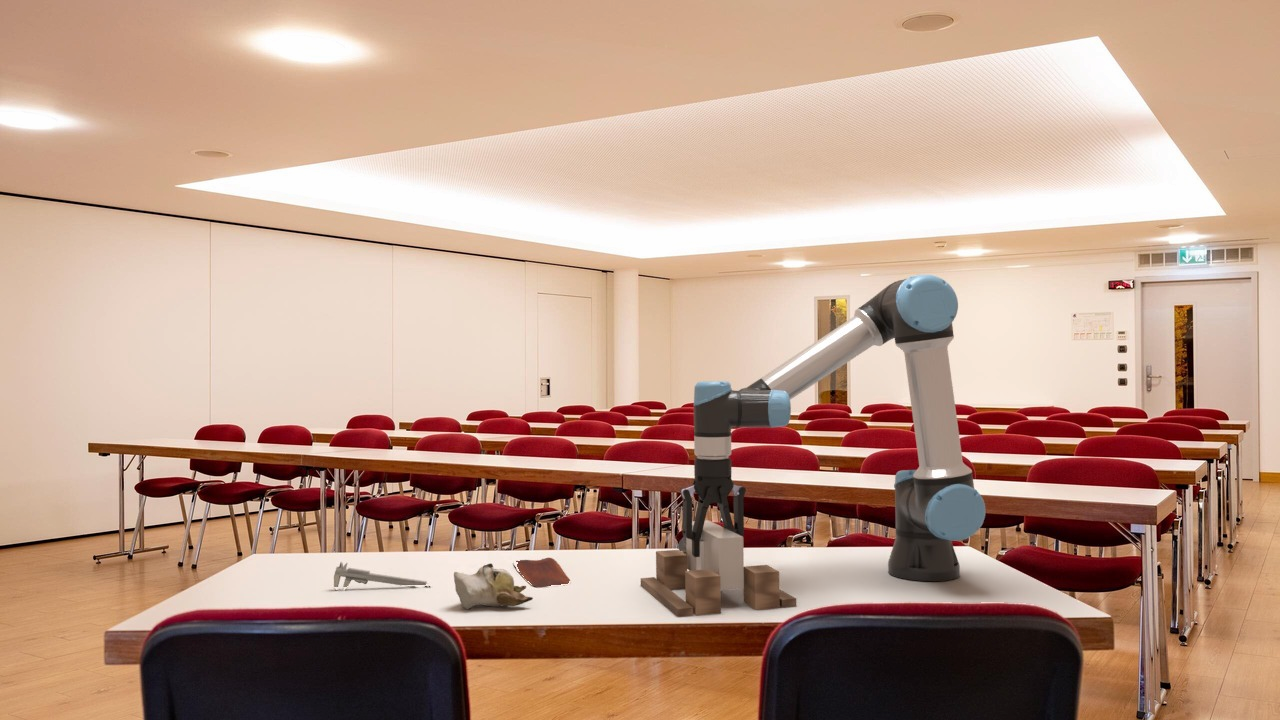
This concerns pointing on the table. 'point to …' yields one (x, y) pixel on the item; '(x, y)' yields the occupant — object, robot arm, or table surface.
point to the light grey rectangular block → (720, 555)
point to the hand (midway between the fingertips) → (713, 571)
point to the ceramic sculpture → (488, 588)
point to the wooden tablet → (542, 572)
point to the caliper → (369, 577)
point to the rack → (710, 586)
